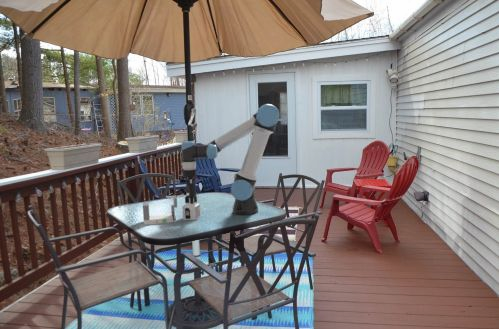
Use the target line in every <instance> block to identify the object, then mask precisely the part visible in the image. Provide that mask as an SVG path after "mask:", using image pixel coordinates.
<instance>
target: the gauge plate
mask: <svg viewBox="0 0 499 329" xmlns="http://www.w3.org/2000/svg"><path fill="white" fill-rule="evenodd" d="M172 198H173V199H172V202H173V205H172V204H171V205H170V209H171V212H170V214H172V216H173V221H175V220H174V216H176V213H175V209H176V208H178V198H177V196H176V195H175V194H174V195H172Z"/></svg>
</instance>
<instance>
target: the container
mask: <svg viewBox="0 0 499 329" xmlns="http://www.w3.org/2000/svg"><path fill="white" fill-rule="evenodd" d="M188 196H189V195H188ZM188 196H187V195H186V196H184V205H183V206H182V220H183V221H196V220H198V219H199V218H200V217H201V204H200V203H198V199H197V195H195V194H194V196H195V197H194V209H192V210H189V198H188Z"/></svg>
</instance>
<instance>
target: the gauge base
mask: <svg viewBox="0 0 499 329" xmlns="http://www.w3.org/2000/svg"><path fill="white" fill-rule="evenodd" d="M142 215H143V225H144V226H146V225H147V226H149V225H157V224H158V225H159V224H169V223H177V216H176V215H175V216H174V220H175V221H173V216H172V214H171V213H167V214H155V215H150V203H149V201H145V202H142Z"/></svg>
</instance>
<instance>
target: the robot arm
mask: <svg viewBox="0 0 499 329" xmlns="http://www.w3.org/2000/svg"><path fill="white" fill-rule="evenodd" d="M279 111H280V110H279V109H278V108H277V107H276V106H275V105H273V104H271V103H264V104H263V105H261V106H260V107H259V108H258V110H257V111H256V112H255V113H254V114H252V116H251V118H249V119H247V120H246V121H244V122H242V123H241V124H239V125H237V126H235V127H234V128H232V129H230V130H229V131H227V132H226V133H224V134H222V135H220V136H219V137H217V138H216V139H213V140H212V141H210V142H209V143H207V144H196V142H195V141H193V140H192V141H191V140H190V141H188V140H187V141H186V140H185V141H182V142H181V164H180V166H182V173H181V174H182V177H185V190H186V191H185V192H186V196H188V195H189V196H188V198H189V210H192V209H194V197H195V196H196V195H195V186H194V184H195V182H194V180H195V179H193V177H196V176H197V169H196V168H197V159H210V160H212V159H216V158H217V157H218V153H220V152H222V151H223V150H225V149H227V148H228V147H230V146H232V145H233V144H235V143H237V142H239V141H240V140H243V139H244V138H246V137H248V136H249V135H251V134H252V137H251V139H250V143H249V145H248V148H247V150H246V154H245V156H244V159H243V162H242V166H241V168H240V170H239V171H236V173H234V176H233V177H234V178H233V179H234V180H233V183H232V184H231V186H230V192H231V195H232V196H233V198H234V203H233V206H232V213H233V214H236V215H242V216H243V215H244V216H245V215H253V214H257V213H258V212H259V207H258V206H259V205H258V203H257V201H256V194H255V192H256V191H255V186H256V183H257V180H258V179H257V177H256V174H257V172H258V169H259V166H260V163H261V161H262V158H263V155H264V151H265V149H266V147H267V144H268V141H269V137H270V135H271V134H274V133H275V129H276V127H277V124H278V122H279V120H280V112H279ZM194 195H195V196H194Z"/></svg>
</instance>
